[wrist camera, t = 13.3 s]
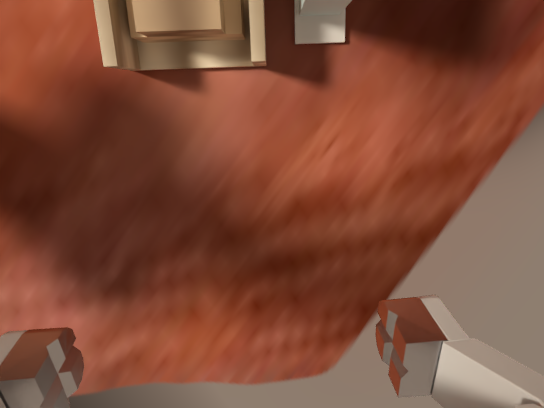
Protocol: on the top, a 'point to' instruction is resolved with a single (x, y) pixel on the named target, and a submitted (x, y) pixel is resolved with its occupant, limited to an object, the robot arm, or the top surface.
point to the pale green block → (322, 7)
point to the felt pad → (319, 28)
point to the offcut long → (232, 30)
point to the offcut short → (179, 17)
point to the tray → (177, 43)
